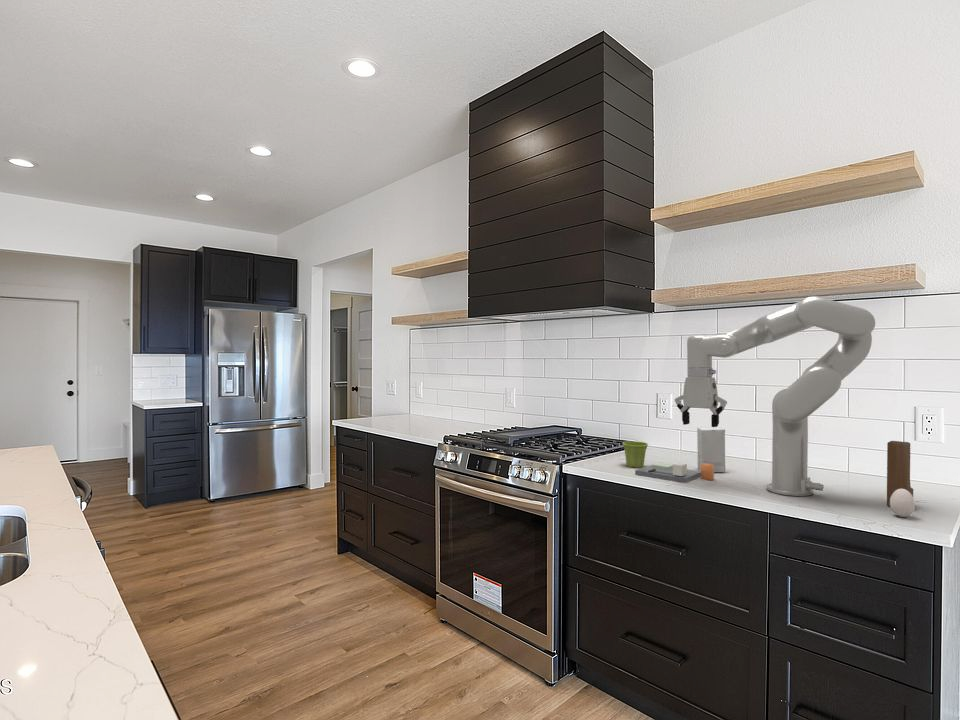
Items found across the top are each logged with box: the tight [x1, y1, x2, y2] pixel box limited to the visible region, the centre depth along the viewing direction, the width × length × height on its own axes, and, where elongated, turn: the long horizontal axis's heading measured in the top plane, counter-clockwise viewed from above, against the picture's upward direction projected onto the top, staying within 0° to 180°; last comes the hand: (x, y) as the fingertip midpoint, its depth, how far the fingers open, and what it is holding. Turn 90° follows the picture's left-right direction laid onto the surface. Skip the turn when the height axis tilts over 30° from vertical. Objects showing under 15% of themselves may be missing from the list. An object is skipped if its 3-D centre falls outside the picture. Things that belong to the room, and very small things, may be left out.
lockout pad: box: [651, 462, 674, 470], centre depth 202 cm, size 6×6×1 cm
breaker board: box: [634, 464, 701, 484], centre depth 196 cm, size 18×14×2 cm
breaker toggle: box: [673, 462, 688, 476], centre depth 188 cm, size 3×4×4 cm
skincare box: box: [696, 426, 726, 474], centre depth 202 cm, size 8×7×16 cm
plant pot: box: [622, 440, 649, 468], centre depth 211 cm, size 9×9×9 cm
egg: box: [889, 489, 916, 518], centre depth 146 cm, size 5×5×7 cm
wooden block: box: [886, 440, 914, 508], centre depth 157 cm, size 9×4×18 cm, turn 133°
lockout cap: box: [700, 463, 715, 481], centre depth 190 cm, size 4×4×5 cm
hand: (700, 425), depth 184 cm, fingers open, 9 cm apart
